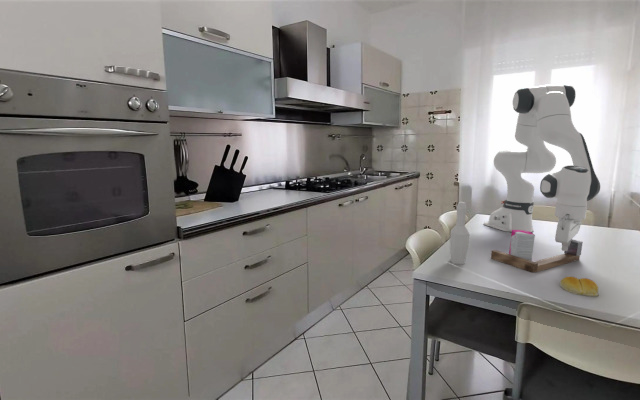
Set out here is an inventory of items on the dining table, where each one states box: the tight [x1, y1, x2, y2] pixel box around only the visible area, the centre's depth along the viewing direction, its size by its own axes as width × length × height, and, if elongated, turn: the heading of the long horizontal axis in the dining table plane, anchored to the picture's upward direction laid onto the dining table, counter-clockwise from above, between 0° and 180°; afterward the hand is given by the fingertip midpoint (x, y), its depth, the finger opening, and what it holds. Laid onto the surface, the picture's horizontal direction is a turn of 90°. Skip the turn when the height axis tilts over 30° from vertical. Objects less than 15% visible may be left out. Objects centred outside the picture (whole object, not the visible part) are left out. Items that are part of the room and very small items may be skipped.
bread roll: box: [559, 276, 599, 297], centre depth 98 cm, size 8×9×4 cm
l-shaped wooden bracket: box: [490, 238, 583, 273], centre depth 123 cm, size 16×28×7 cm, turn 117°
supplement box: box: [508, 230, 536, 261], centre depth 120 cm, size 6×6×12 cm
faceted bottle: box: [449, 201, 470, 265], centre depth 119 cm, size 6×6×22 cm
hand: (565, 250), depth 121 cm, fingers closed
